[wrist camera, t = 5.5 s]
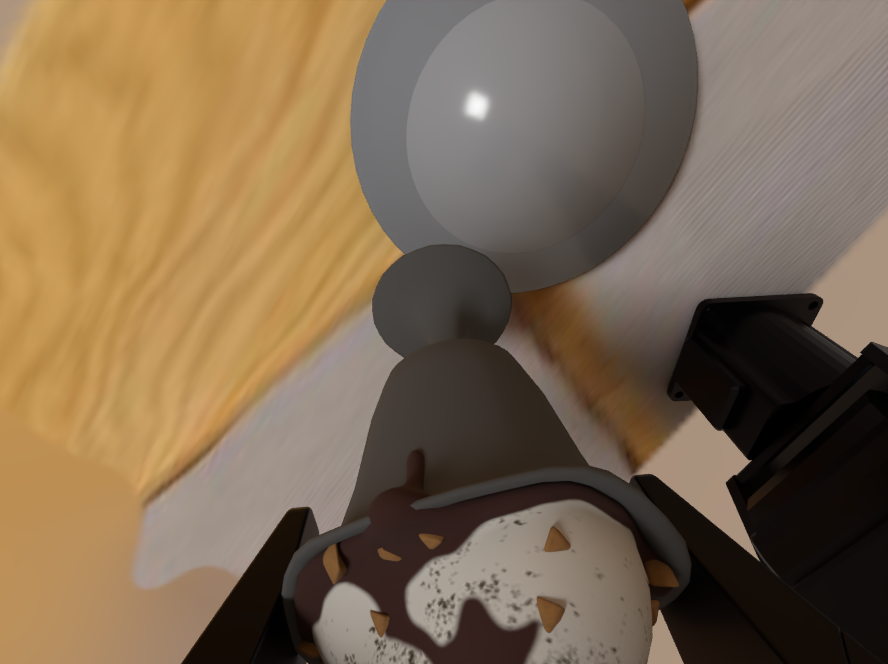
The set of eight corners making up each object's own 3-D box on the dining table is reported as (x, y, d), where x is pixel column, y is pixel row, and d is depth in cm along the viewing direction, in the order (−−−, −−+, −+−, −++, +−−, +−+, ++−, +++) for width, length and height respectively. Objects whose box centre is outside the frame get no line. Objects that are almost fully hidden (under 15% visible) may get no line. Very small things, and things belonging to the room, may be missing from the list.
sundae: (503, 182, 14) (1785, 1937, 1) (552, 347, 17) (966, 1181, 5) (310, 259, 14) (-311, 1725, 2) (395, 401, 18) (382, 1225, 5)
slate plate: (736, -85, 14) (755, -92, 14) (641, 278, 21) (649, 287, 21) (327, -90, 13) (323, -98, 13) (370, 292, 20) (369, 301, 20)
